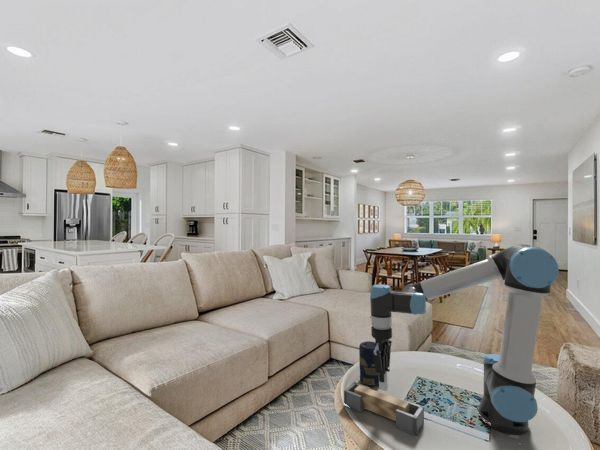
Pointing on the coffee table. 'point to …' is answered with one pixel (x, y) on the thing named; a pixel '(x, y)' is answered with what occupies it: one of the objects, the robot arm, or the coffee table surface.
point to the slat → (381, 402)
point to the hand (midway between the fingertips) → (383, 389)
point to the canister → (367, 364)
